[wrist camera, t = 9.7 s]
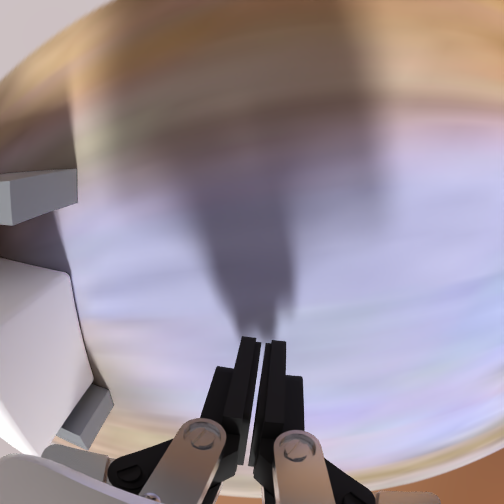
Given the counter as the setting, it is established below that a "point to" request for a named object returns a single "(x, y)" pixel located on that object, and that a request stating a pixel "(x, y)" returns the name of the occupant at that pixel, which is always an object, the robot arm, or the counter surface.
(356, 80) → the counter surface
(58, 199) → the bracket
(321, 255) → the counter surface
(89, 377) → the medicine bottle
